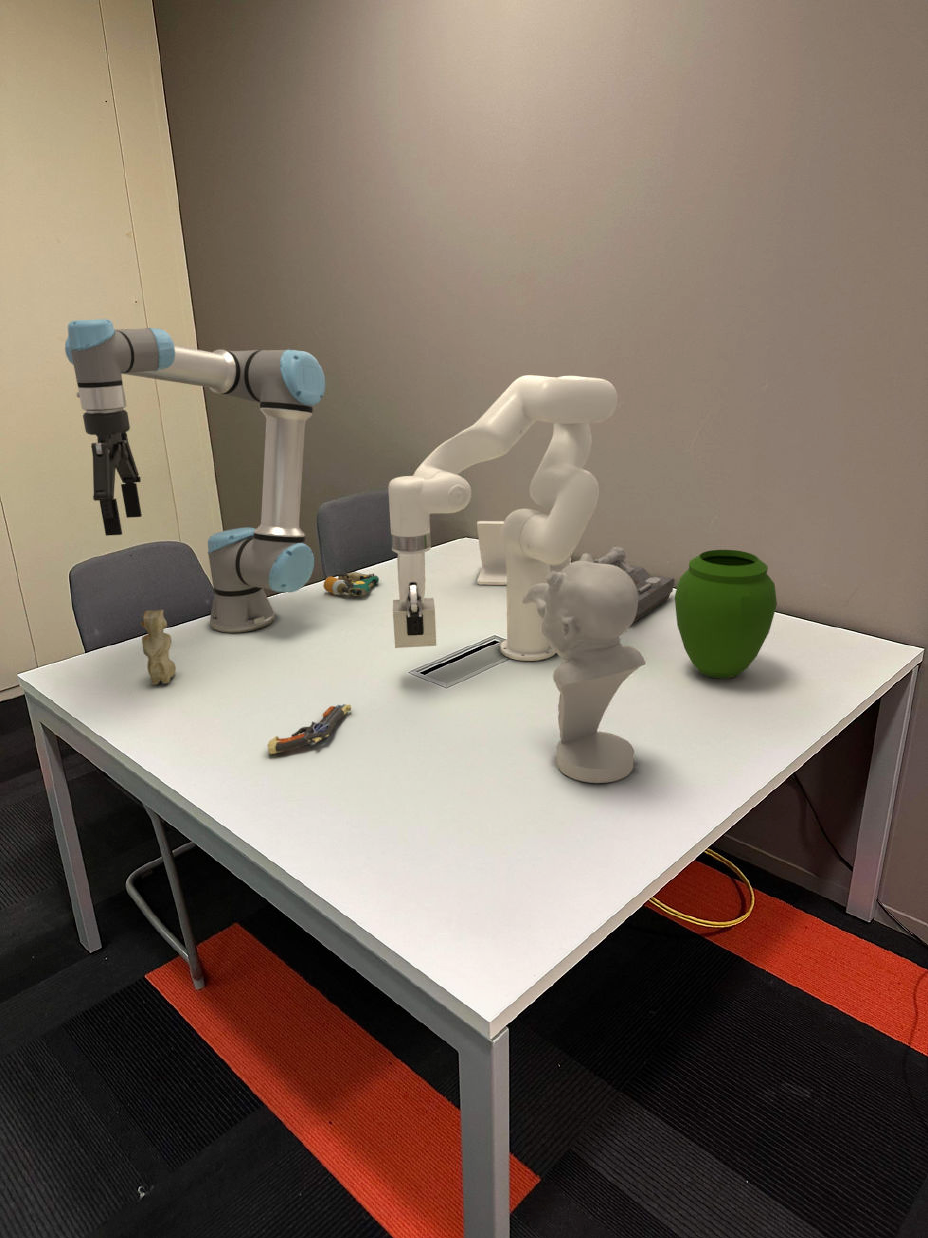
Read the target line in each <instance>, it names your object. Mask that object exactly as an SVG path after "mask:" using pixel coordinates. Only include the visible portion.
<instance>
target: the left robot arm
mask: <svg viewBox="0 0 928 1238" xmlns="http://www.w3.org/2000/svg"><path fill="white" fill-rule="evenodd" d="M64 351H65V355H66V358H67V360H68V361H69V362H70V364H71V365H72V366H73V369H74V374H75V379H76V386H77V390H78V392H76V394H75V396H76V397H77V398H78V399H79V400H80V407H81V410H83V411H85V412H84V413H83V414H82V419H83V424H84V429H85V430H84V431H85V433H86V434H88V435H90V436H96V438H97V442H92V443H91V444H90V447H91V453H92V473H93V474H92V481H93V495H92V499H93V501H94V502H96V501H99V506H100V512H101V517H102V521H103V528H104V533H105V534H104V535H105V536H107V537H108V536H122V535H123V530H122V529H123V528H122V524H121V519H120V513H119V506H118V501H117V500H118V499H117V498H115V484H116V483H115V482H116V472H117V475H118V476H119V478H120V480H121V482H122V483H121V484H120V486H121V487H120V488H121V493H122V499H123V504H124V510H125V516H126V518H127V519H129V518H141V517H143V516H142V509H141V503H140V497H139V491H138V485H137V483H141V482H142V481H141V480H142V479H141V476H140V473H139V471H138V467H137V465H136V461H135V459H134V455H133V452H132V449H131V446H130V444H129V439H128V434H127V432H129V431H130V429H131V425H130V419H129V414H128V411H127V410H126V409H124V408H126V407H127V400H126V394H125V388H124V384H123V382H124V381H123V376H122V375H126V376H133V377H139V378H146V379H154V380H159V381H166V382H172V383H178V384H186V385H192V386H197V387H203V388H209V389H210V391H211V392H213V393H215V394H218V395H219V394H220V395H225V396H229V397H233V398H237V399H242V400H245V401H249V402H254V403H258V404H259V410H260V411H261V413H262V414H263V415H264V416H265V419H266V420H265V437H264V438H265V441H264V459H263V477H262V478H263V480H262V498H261V499H262V501H261V517H260V525H258V527H256V528H254V527H238V528H232V529H226V530H223V531H218V532H216V533H214V534H212V535H210V536H209V538H208V539H207V550H208V551H207V554H208V561H209V568H210V573H211V574H210V575H211V581H212V587H213V594H214V595H213V602H212V607H211V610H209V614H210V616H209V617H210V618H209V619H210V626H211V628H212V629H213V630H215V631H217V632H221V633H231V634H232V633H233V634H238V633H248V632H253V631H257V630H260V629H263V628H265V627H267V626H269V625H271V624H272V623H273V622H274V621H275V611H274V609H273V606H272V604H271V602H270V600H269V598H268V596H267V594H266V592H265V590H264V589H266V590H269V591H273V592H275V593H287V594H288V593H290V594H291V593H296V592H298V591H300V590H301V589H302V588H303V587H304V586H306V583H308V582H309V580H310V579H311V577H312V574H313V571H314V568H315V556H314V553H313V552H312V551H313V550H312V549H311V547H309V546H308V545H307V544H305V543H306V533H305V532H304V531H302V529H301V527H300V515H301V498H302V481H303V464H304V448H305V433H306V431H305V430H306V429H305V428H306V422H307V420H308V419H310V418H311V417H312V416H313V410H314V406H316V405H317V404H319V403H320V402H321V401H322V398H323V397H324V395H325V391H326V380H325V379H326V378H325V373H324V371H323V368H322V366H321V365H320V364H319V361H318V359H317V358H316V357H315V356H314V355H312V354H311V353H310V352H308V351H303V350H297V349H251V350H228V349H227V350H226V349H219V348H218V349H215V350H213V351H206V350H201V349H196V348H192V347H186V346H182V345H176V344H175V343H174V340H173V339H172V337H171V335H170V334H169V333H168V332H167V331H166V330H164V329H162V328H159V327H158V328H151V327H144V328H120V329H118V328H117V329H115V328H114V323H113V322H112V320H110V319H108V318H107V319H106V318H104V319H103V318H102V319H77V320H76V319H75V320H71V321H70V322H69V323H68V324H67V338H66V340H65V343H64Z"/></svg>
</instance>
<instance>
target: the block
mask: <svg viewBox="0 0 928 1238" xmlns="http://www.w3.org/2000/svg"><path fill="white" fill-rule="evenodd" d="M417 600H419V599H417ZM409 601H411V599H409ZM410 606H411V604H410ZM417 606H418V607H419V605H418V604H417ZM435 608H436V607H435V599H434V597H426V598H425V597H424V601H423V602H421V613H422V615H423V628H424V634H423V635H414V636H408V635H407V618H406V616H408V614H407V600H406V602H403V603H401V602H400V601H399V599H393V600H392V619H393V621H392V622H393V635H394V636H393V637H394V648H395V649H402V648H403V649H404V648H421V647H437V631H436V630H437V628H436V627H437V626H436V609H435Z"/></svg>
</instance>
